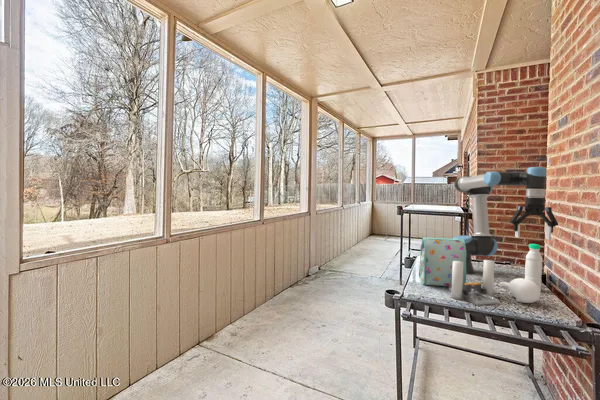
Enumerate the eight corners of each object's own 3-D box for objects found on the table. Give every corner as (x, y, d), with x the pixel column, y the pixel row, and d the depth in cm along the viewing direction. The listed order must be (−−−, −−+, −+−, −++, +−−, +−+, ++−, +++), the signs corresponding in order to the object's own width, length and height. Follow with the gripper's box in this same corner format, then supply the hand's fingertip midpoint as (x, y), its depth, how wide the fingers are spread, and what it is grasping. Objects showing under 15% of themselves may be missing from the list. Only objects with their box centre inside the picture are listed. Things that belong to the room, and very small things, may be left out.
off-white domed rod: (478, 294, 141) (479, 259, 140) (487, 293, 142) (488, 259, 141) (487, 298, 135) (489, 262, 135) (496, 297, 136) (498, 262, 136)
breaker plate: (448, 291, 145) (449, 283, 145) (468, 289, 147) (468, 282, 147) (476, 305, 127) (476, 296, 127) (498, 303, 129) (498, 295, 129)
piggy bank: (541, 311, 125) (520, 301, 140) (550, 287, 125) (528, 279, 140) (513, 301, 127) (495, 291, 142) (521, 277, 127) (503, 270, 142)
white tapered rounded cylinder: (447, 296, 137) (449, 260, 137) (457, 295, 138) (458, 260, 138) (455, 300, 132) (457, 263, 132) (465, 299, 133) (466, 263, 133)
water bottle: (534, 292, 145) (537, 245, 145) (520, 287, 152) (523, 243, 152) (544, 291, 147) (546, 245, 147) (530, 286, 154) (532, 242, 153)
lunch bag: (459, 281, 161) (461, 236, 160) (468, 291, 145) (470, 240, 144) (417, 277, 167) (418, 233, 166) (421, 286, 151) (423, 238, 151)
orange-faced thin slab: (463, 291, 137) (464, 283, 137) (478, 290, 138) (479, 282, 138) (465, 292, 135) (466, 284, 135) (481, 291, 137) (481, 283, 137)
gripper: (510, 196, 139) (508, 237, 141) (569, 198, 133) (566, 241, 135) (503, 196, 147) (501, 235, 148) (559, 197, 141) (556, 238, 142)
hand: (532, 238), depth 141 cm, fingers open, 13 cm apart
